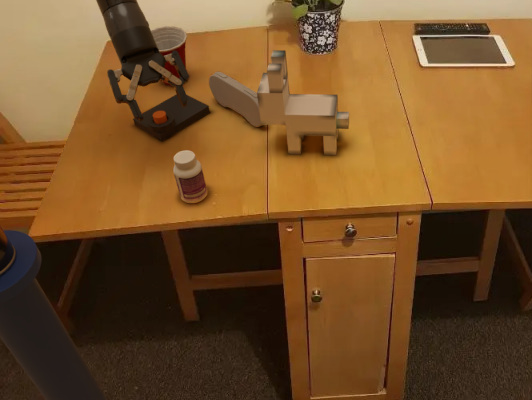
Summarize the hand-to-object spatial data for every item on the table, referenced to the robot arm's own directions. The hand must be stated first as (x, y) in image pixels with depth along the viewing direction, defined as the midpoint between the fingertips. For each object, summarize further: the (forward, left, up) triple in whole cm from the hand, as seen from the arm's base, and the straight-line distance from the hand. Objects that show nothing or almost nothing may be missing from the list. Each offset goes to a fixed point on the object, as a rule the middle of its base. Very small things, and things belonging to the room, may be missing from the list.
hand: (163, 112), depth 110 cm
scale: (+11, +15, -14) cm, 24 cm away
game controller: (+22, +4, -14) cm, 27 cm away
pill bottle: (-3, -9, -14) cm, 17 cm away
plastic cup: (+22, +28, -14) cm, 39 cm away
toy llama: (+23, -16, -14) cm, 31 cm away
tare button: (+6, +13, -11) cm, 18 cm away
